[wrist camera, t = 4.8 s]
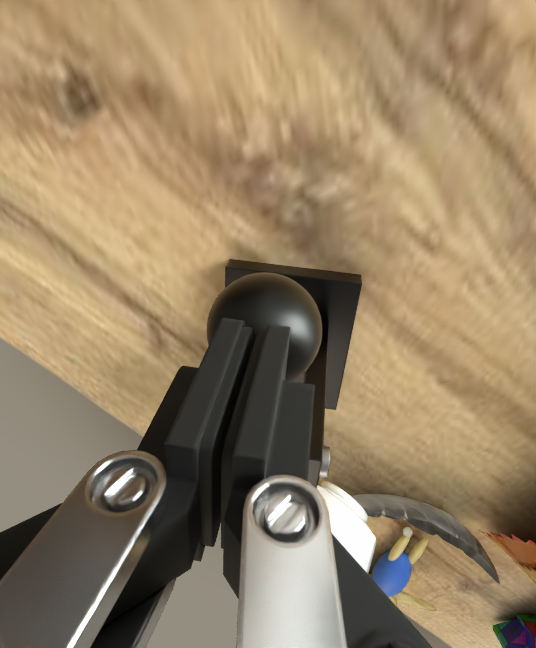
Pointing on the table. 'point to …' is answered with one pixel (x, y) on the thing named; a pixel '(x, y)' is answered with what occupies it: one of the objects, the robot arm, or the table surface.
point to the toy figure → (399, 571)
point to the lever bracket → (337, 323)
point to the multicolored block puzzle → (517, 632)
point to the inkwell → (361, 541)
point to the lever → (272, 314)
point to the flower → (518, 552)
